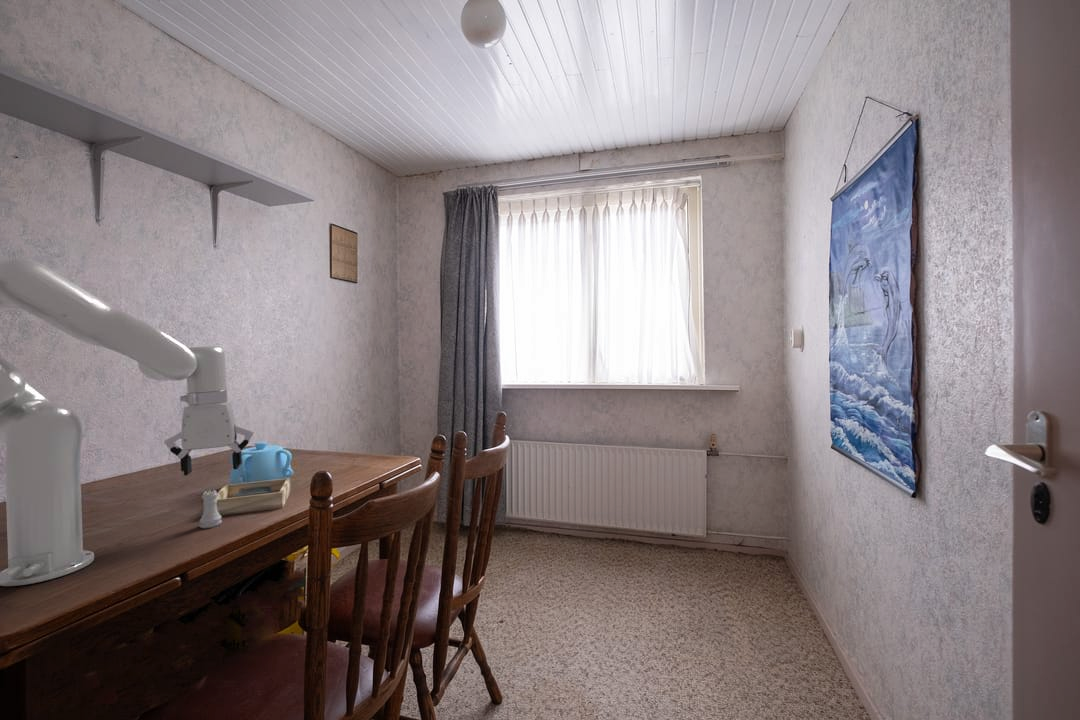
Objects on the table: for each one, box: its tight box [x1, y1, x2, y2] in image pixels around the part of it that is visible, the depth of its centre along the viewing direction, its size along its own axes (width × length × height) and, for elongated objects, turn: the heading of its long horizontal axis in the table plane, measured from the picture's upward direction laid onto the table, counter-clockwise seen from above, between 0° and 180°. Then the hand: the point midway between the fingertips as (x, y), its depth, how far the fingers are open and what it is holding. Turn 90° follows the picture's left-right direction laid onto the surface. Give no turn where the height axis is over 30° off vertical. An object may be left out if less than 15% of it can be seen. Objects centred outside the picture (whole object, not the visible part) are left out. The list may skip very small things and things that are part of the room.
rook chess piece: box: [198, 489, 223, 529], centre depth 108 cm, size 4×4×8 cm
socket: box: [233, 485, 272, 497], centre depth 125 cm, size 8×8×3 cm
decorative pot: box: [229, 441, 294, 484], centre depth 142 cm, size 16×16×14 cm
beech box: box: [216, 477, 291, 517], centre depth 125 cm, size 16×16×4 cm
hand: (212, 471), depth 109 cm, fingers open, 9 cm apart
